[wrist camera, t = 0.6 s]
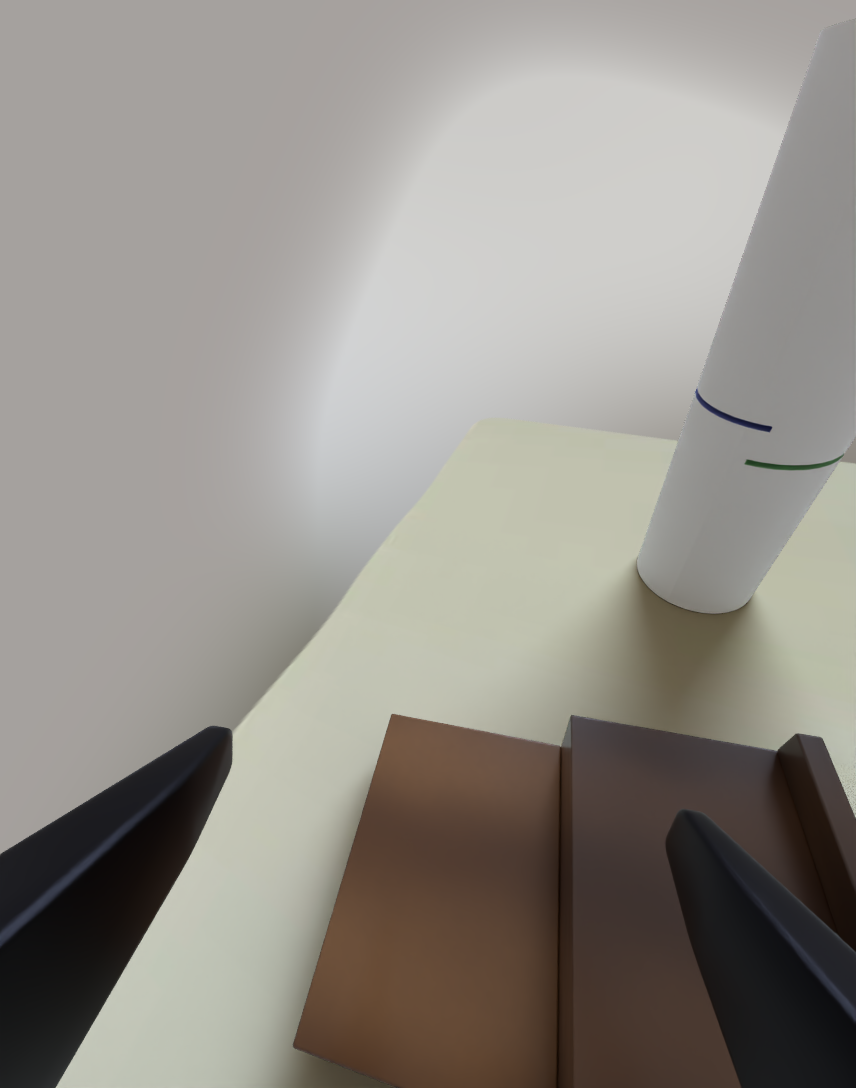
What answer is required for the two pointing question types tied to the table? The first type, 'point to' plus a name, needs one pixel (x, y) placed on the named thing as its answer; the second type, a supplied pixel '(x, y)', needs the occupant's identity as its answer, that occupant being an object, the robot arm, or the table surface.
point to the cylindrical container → (771, 364)
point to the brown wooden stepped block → (554, 904)
